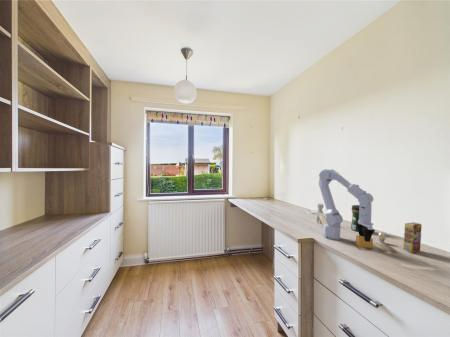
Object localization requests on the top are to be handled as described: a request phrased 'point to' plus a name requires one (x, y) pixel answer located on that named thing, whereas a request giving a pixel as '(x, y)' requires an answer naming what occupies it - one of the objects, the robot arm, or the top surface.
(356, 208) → the coffee jar
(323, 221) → the hammer
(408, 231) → the candy box
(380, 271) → the top surface
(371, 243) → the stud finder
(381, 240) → the stepped metal cylinder
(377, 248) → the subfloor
